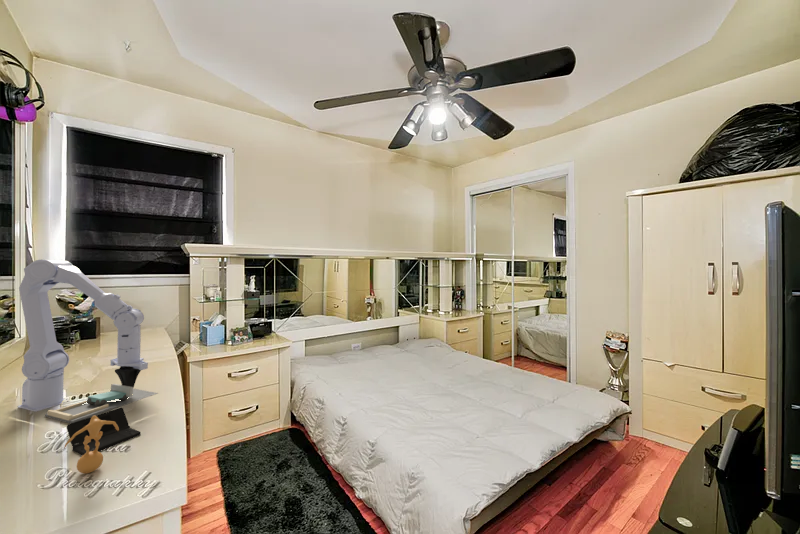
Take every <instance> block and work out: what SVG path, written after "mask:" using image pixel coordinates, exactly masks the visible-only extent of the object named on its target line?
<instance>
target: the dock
mask: <svg viewBox="0 0 800 534" xmlns="http://www.w3.org/2000/svg"><path fill="white" fill-rule="evenodd" d="M157 394H158V392H154V391H149V390H143V389H138V388H133V395H132V397H129V398H128V399H126V400H124V401H116V402H106V403H105V405H103V406H96V404H92V405H90V404H84V403H86V402H87V401H86V400H84V401H83V400H82V401H81V402H78V403H74V404H70V405H68V406H64V407H61V408H58V409H53V408H52V409H49V410H47V413H44V418H49V419H52V420H56V421H60V422H62V423H63V422H64V423H67V424H71V423H74V422H77V421H80V420H83V419H86V418H90V417H92V416H94V415H95V416H96V415H99V414H102V413H105V412H108V411H112V410H115V409H118V408H121V407H123V406H126V405H128V404H132V403H134V402H137V401H141V400H143V399H146V398H149V397H152V396H154V395H157ZM82 404H84V405H82Z"/></svg>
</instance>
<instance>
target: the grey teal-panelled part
mask: <svg viewBox="0 0 800 534" xmlns="http://www.w3.org/2000/svg"><path fill="white" fill-rule="evenodd" d="M133 389H134V388H133V387H130V386H124V385H122V384H119V383H112V384H111V385H110V391H107V392H101V393H97V394H93V395H88V396H87V399H86V400H87V403H88V404H90V405H92V404H96V406H103V405H105V403H106V402H107V401H111V400H115V399H119V400H121V401H124V400H126V399H127V398H128V397H132V394H133Z"/></svg>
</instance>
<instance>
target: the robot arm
mask: <svg viewBox="0 0 800 534" xmlns="http://www.w3.org/2000/svg"><path fill="white" fill-rule="evenodd" d="M23 272H24V275H23V278H22V280H21V283H20V286H19V287H18V289H19V295H20V300H21V305H22V312H23V316H24V321H25V327H26V331H27V337H28V343H29V348H28V350H27V351H26V352H25V353H24V354H23V364H22V366H21V372H22V374H23V376H24V377H26V378H25V380H24V382H23V384H22V386H21V388H22V390H21V391H22V392H21V404H20V405H17V408H18V409H24V410H28V411H30V412H35V413H36V412H39V411H43V410H47V409H49V408H53V407H56V406H59V405H62V404H61V403H62V401H63V400H64V399H65V398H64V379H65V378H64V375H65V374H64V372H65V371H64V370H65V368H66V367H67V366H68V364H69V363H70V356H69V354H68V353H67V352H66V350H65V349H64V346H63V345H62V344H61V343H60V342H58V341H57V336H56V331H55V325H54V320H53V316H52V315H53V314H52V309H51V305H50V300H49V299H50V298H49V294H48V293H49V291H50V290H51V289H52V288H54V287H55V286H56V285H57V284H60V283H61V284H68V285H71V286H72V287H74V288H75V289H77V290H78V291H80V292H81V293H83V294H84V295H86V296H87V297H89V298H90V299H92V300H93V301H94V307H95V308H97V309H98V310H99V311H100V312H102V313H104V315H105V316H107V317H109V318H110V319H111V320H113V325H114V327H116V329H117V347H116V350H117V351H116V352H117V355H116V356H117V357H116V358H112V359H110V366H112V367H113V366H116V367H119V368H115V369H114V372H115V374H116V375H117V376H118V378H119V380H120V383H121V384H120V385H124V386H130V387H133V389H135V388H134V387H135V385H136V381H137V378H138V376H139V375H140V373H141V371H143V370H147V369H148V368H149V367H148V366H149V362H146V361H144V360H145V359H144V357H141V343H142V342H141V337H142V336H141V334H142V333H141V332H142V331H141V324H142V323H144V319H145V317H144V316H145V315H144V313H143V312H142V311H141V310H140V309H138V308H134V307H133V306H132V305H131V304H129V305H128V304H127V303H126V302H125V301H123V299H121V295H119V294H118V293H117V294H116V293H115V294H114V293H113V292H108V293H107V292H105V291H104V290H103V289H101V288H100V287H99V285H97V284H95V282H94V281H92V280H91V279H90V278H89V277H88V276H87V275H85V274H84V273H83V272H82V270H80V268H78V267H77V266H75V265H73V263H71V262H70V261H68V260H63V259H57V260H55V259H52V260H51V259H50V260H49V259H44V258H43V259H36V260H34V261H32V262H30V263H29V264H28V265H27V266H25V267H24V268H23Z"/></svg>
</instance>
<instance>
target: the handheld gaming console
mask: <svg viewBox="0 0 800 534" xmlns="http://www.w3.org/2000/svg"><path fill="white" fill-rule="evenodd" d="M95 416H97V417H98V418H99V419H100V420H106V421H114V422H116V424H117V425H118V427H119V431H117V430H116V429H115V428H116V427H114V425H113V424H104V425H103V426H102V427H101V429H100V431H102V432H103V434H102V436H101V438H100V439H99V440H98V442H99V443H100V445H99V447H98V452H99V451H100V452H102V451H104V449H105V450H107V449H109V447H110V448H113V447H115V446H117V445H119V444H122V443H124V442H127V441H129V440H132V439H134V438H136V437H140V436H141V431H139V430H136V429H134V428H132V427H131V426H130V424H129V422H128V419H127V416H126V412H125V411H124V407H118V408H115V409H112V410H109V411H106V412H103V413H100V414H98V415H95ZM90 420H91V417H89V418H86V419H83V420H80V421H77V422H74V423H67V426H66V430H67V433H68V436H69V439H70V438H71V437H72V436H73V435H74V434H75V433H76V432H78V431H79V430H81V429H82V428H84V427H85V426H86V425H88V424H89V423H90ZM100 431H99V432H100ZM86 436H90V434H89V431H88V430H85V431H83V432H82V433H80V434H78V435H76V436H75V437H74V438H73V440H72V441H71V442H70V443H71V447H72V452H74V453H76V454H78V455H80V456H81V457H82V456H83V455H84V454H85V453H86V450H85V446H84V444H83V442H84V441H85V437H86ZM95 443H96V440H94V439H91V442H89V443H88V444H87V445H88V446H89V452H91V451H94V450H95V448H96V446H95ZM101 450H102V451H101Z"/></svg>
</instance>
